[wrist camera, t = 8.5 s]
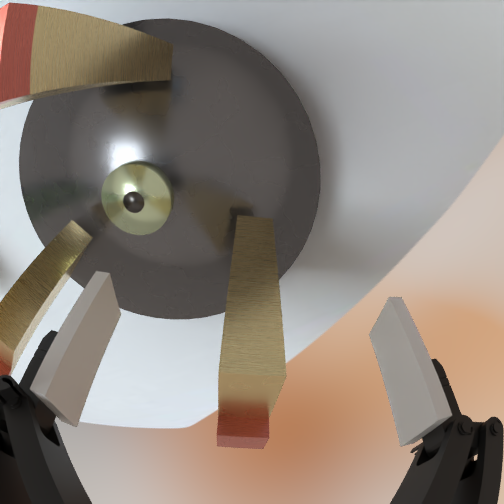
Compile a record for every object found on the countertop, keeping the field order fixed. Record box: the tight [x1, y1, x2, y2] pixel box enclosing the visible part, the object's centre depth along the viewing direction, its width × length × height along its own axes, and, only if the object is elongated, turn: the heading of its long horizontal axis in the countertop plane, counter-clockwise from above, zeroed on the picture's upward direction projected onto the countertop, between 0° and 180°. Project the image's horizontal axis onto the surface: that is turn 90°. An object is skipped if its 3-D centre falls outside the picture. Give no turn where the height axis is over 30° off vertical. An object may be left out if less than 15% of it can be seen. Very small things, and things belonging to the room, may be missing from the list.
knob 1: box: [0, 3, 173, 109], centre depth 6 cm, size 5×2×10 cm, turn 84°
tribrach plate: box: [19, 19, 320, 319], centre depth 14 cm, size 19×19×3 cm
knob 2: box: [0, 220, 93, 376], centre depth 12 cm, size 5×2×10 cm, turn 134°
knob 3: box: [217, 215, 286, 449], centre depth 12 cm, size 5×2×10 cm, turn 175°
